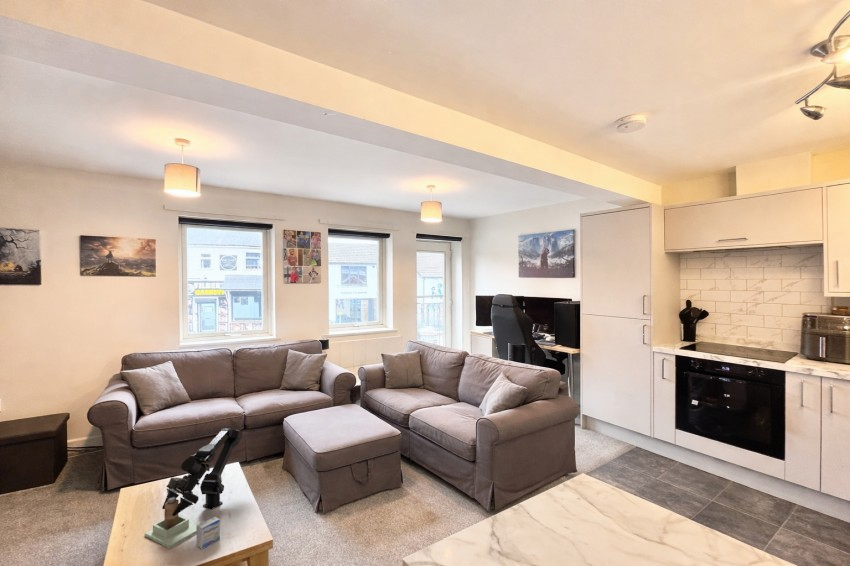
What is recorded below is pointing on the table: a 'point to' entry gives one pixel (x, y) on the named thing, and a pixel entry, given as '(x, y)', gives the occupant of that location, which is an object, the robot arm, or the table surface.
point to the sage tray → (172, 532)
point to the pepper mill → (170, 513)
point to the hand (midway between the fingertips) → (167, 512)
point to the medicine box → (208, 532)
